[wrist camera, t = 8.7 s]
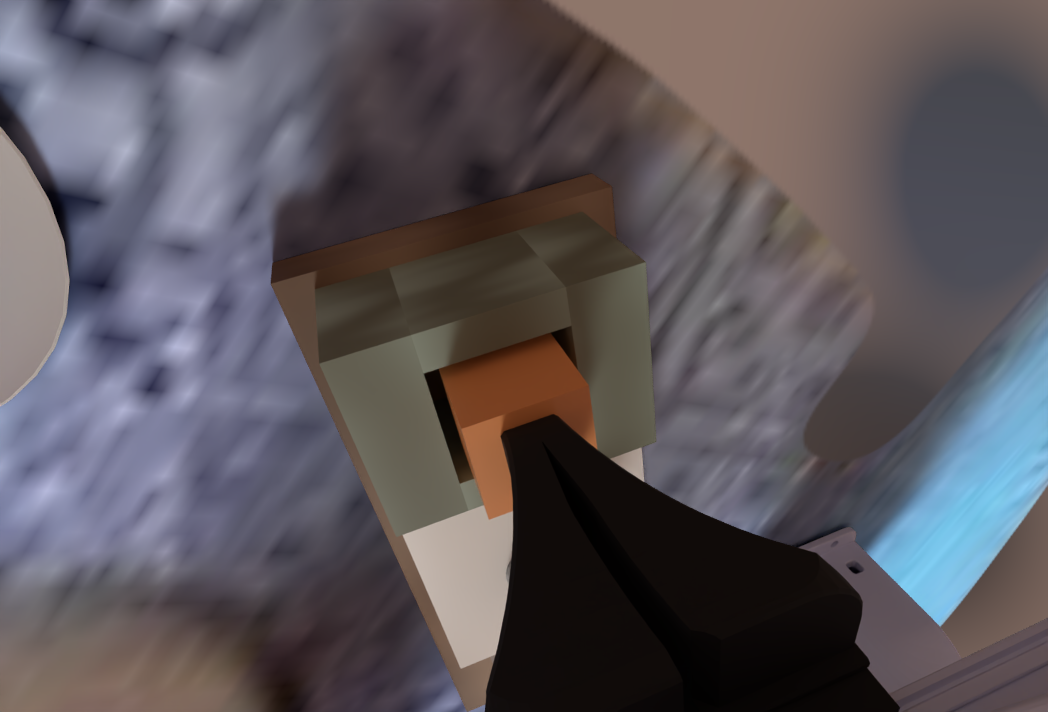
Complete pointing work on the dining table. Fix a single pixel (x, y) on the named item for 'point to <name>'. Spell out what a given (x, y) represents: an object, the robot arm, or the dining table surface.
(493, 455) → the button
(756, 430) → the dining table surface
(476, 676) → the wooden base with block
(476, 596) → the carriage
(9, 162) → the checkered hat
